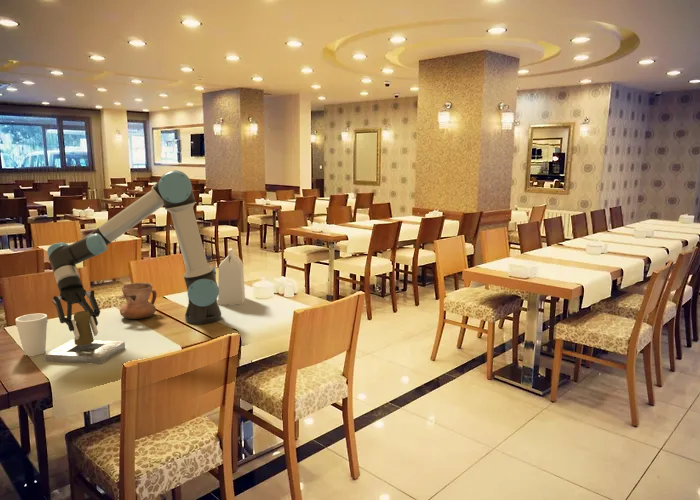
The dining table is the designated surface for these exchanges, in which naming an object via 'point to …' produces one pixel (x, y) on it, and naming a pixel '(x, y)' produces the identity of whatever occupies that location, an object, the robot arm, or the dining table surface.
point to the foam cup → (32, 333)
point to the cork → (83, 328)
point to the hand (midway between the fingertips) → (87, 335)
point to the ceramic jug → (138, 300)
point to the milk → (231, 280)
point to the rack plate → (71, 355)
